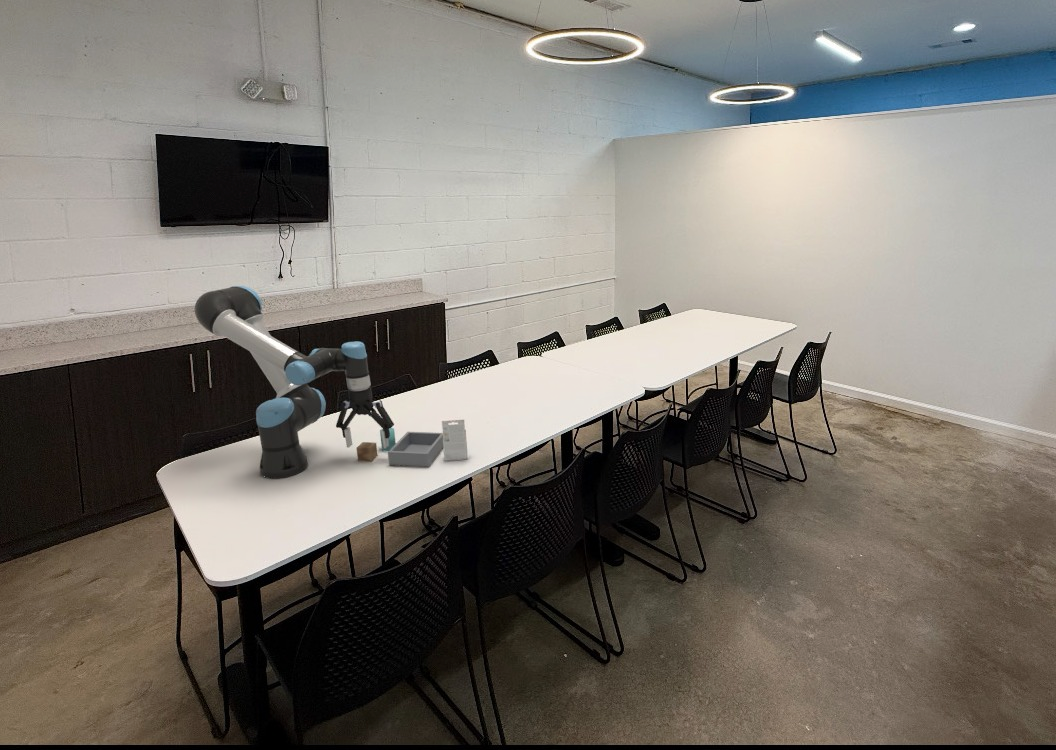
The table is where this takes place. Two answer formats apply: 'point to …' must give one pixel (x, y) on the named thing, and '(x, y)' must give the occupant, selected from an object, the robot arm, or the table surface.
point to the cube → (367, 451)
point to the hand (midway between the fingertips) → (367, 446)
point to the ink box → (454, 440)
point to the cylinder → (389, 440)
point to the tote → (416, 449)
